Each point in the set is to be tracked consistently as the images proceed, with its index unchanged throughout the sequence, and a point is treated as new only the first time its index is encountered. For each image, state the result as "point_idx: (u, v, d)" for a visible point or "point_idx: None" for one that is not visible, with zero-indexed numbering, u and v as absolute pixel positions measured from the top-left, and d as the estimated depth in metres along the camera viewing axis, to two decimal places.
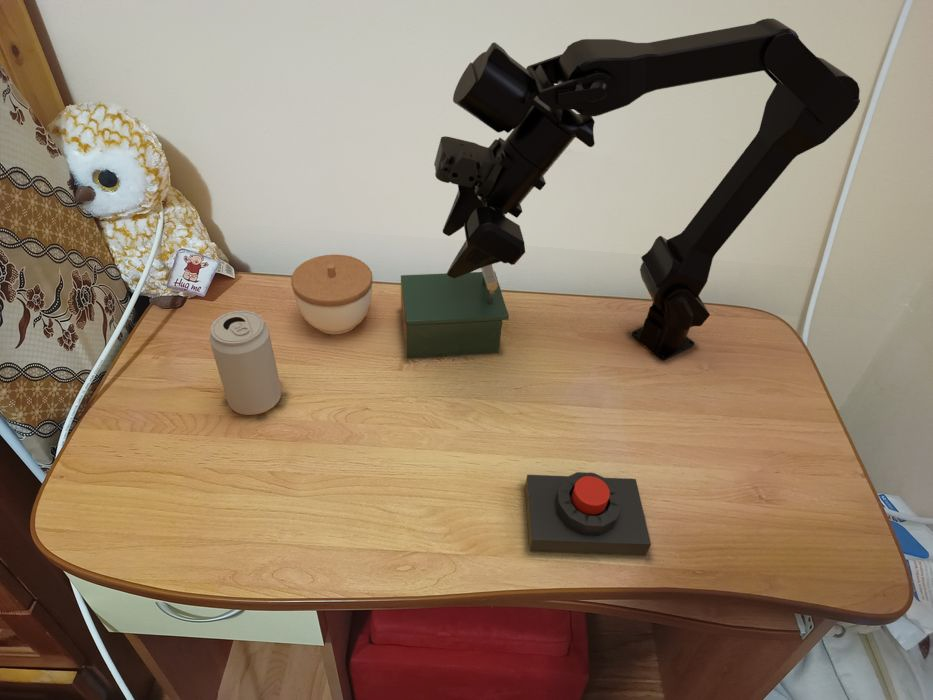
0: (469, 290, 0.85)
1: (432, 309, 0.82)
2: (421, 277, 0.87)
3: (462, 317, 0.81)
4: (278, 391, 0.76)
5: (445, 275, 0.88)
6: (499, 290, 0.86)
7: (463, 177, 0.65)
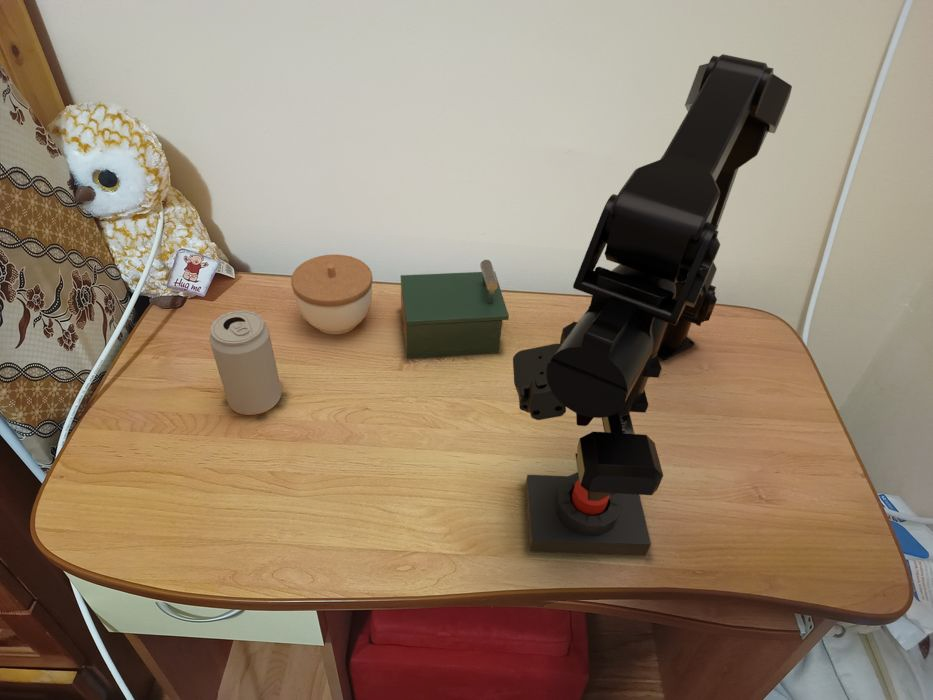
0: (469, 290, 0.85)
1: (432, 309, 0.82)
2: (421, 277, 0.87)
3: (462, 317, 0.81)
4: (278, 391, 0.76)
5: (445, 275, 0.88)
6: (499, 290, 0.86)
7: (547, 410, 0.51)
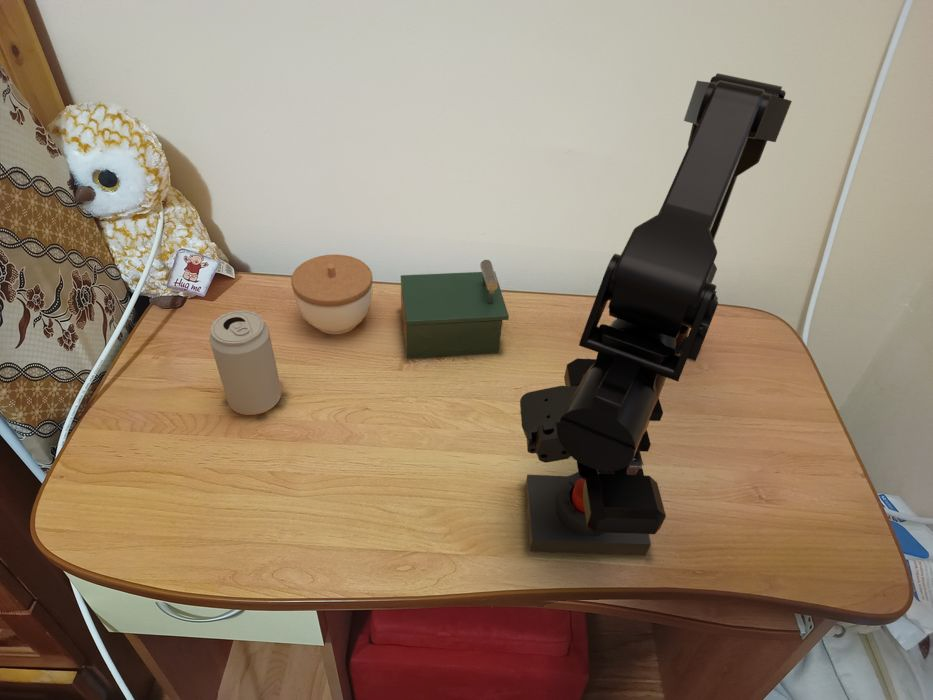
0: (469, 290, 0.85)
1: (432, 309, 0.82)
2: (421, 277, 0.87)
3: (462, 317, 0.81)
4: (278, 391, 0.76)
5: (445, 275, 0.88)
6: (499, 290, 0.86)
7: (554, 454, 0.53)
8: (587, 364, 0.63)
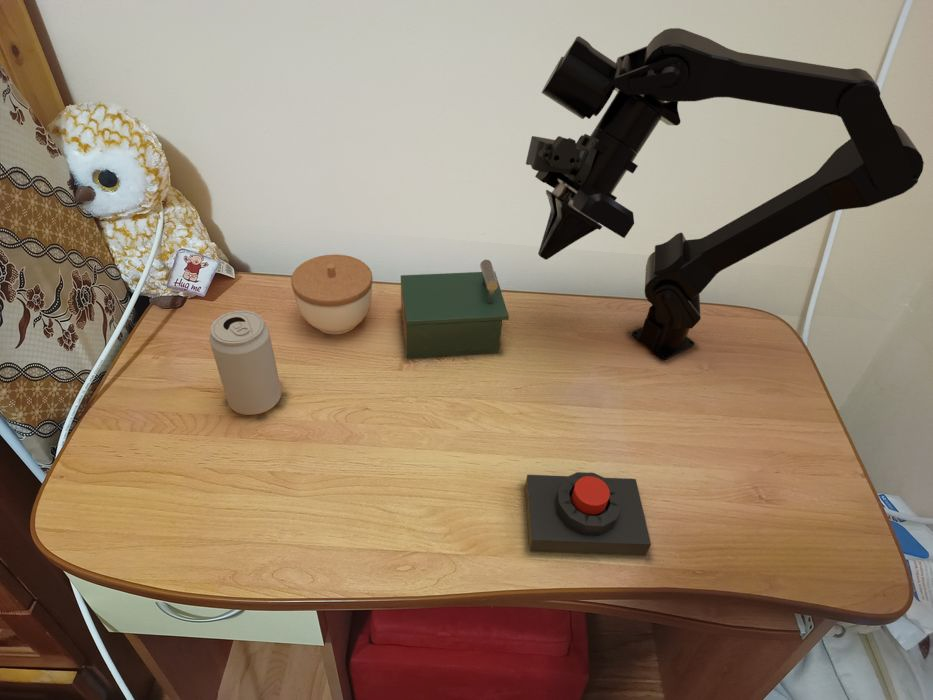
0: (469, 290, 0.85)
1: (432, 309, 0.82)
2: (421, 277, 0.87)
3: (462, 317, 0.81)
4: (278, 391, 0.76)
5: (445, 275, 0.88)
6: (499, 290, 0.86)
7: (564, 159, 0.67)
8: None
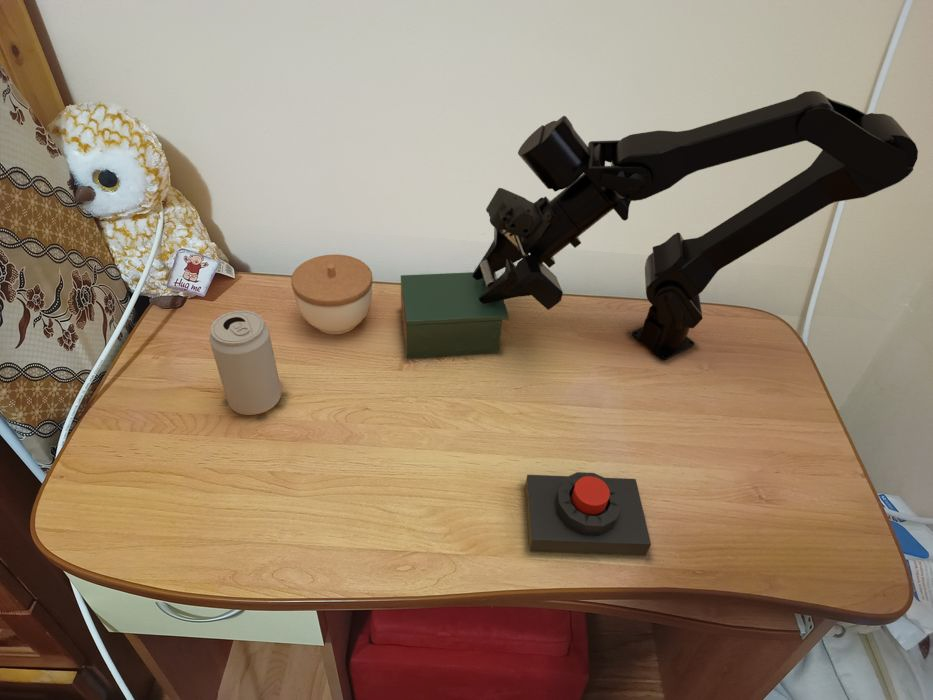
0: (469, 290, 0.85)
1: (432, 309, 0.82)
2: (421, 277, 0.87)
3: (462, 317, 0.81)
4: (278, 391, 0.76)
5: (445, 275, 0.88)
6: None
7: (519, 228, 0.74)
8: None
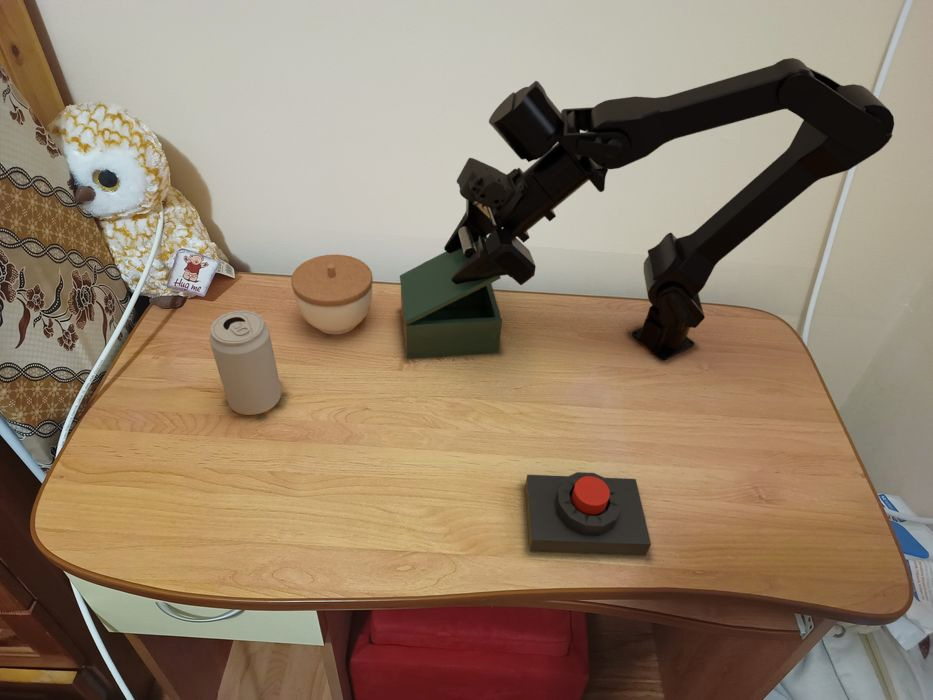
0: (460, 263, 0.82)
1: (427, 299, 0.80)
2: (417, 269, 0.86)
3: (455, 295, 0.78)
4: (278, 391, 0.76)
5: (438, 257, 0.85)
6: None
7: (489, 199, 0.71)
8: None
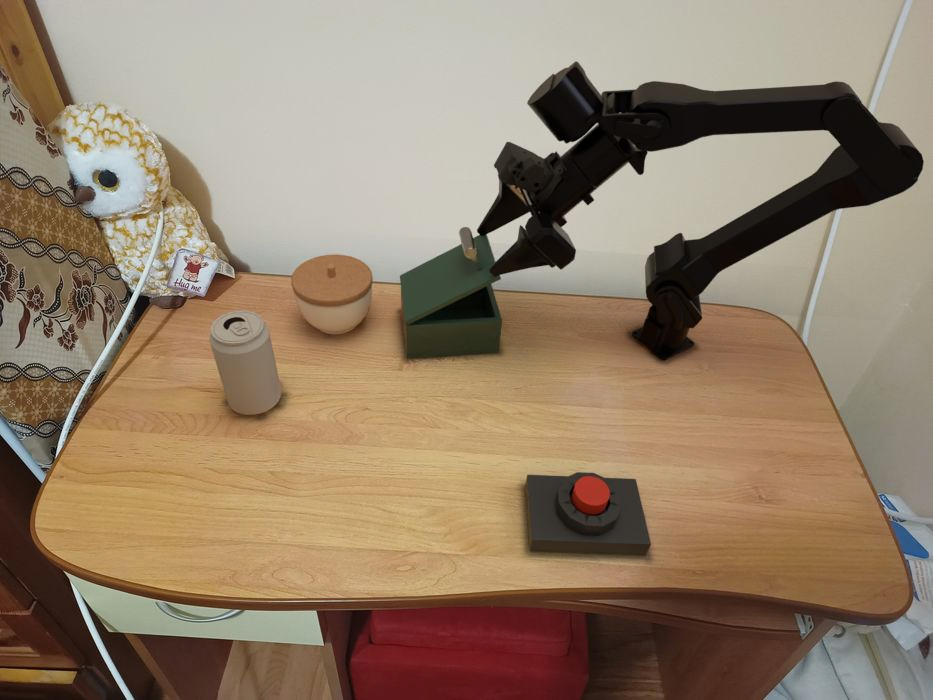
0: (461, 263, 0.82)
1: (427, 299, 0.80)
2: (417, 269, 0.86)
3: (455, 296, 0.78)
4: (278, 391, 0.76)
5: (439, 257, 0.85)
6: (489, 251, 0.81)
7: (529, 182, 0.70)
8: None
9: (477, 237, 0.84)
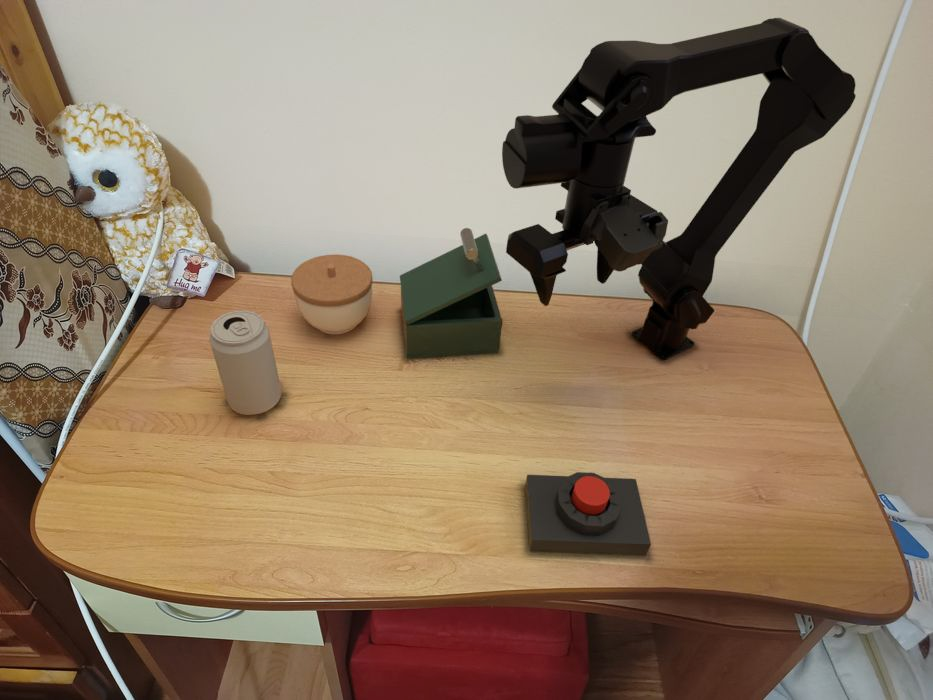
0: (461, 264, 0.82)
1: (428, 299, 0.81)
2: (418, 270, 0.86)
3: (455, 296, 0.79)
4: (278, 391, 0.76)
5: (439, 258, 0.85)
6: (490, 252, 0.81)
7: None
8: (540, 244, 0.66)
9: (477, 239, 0.84)
